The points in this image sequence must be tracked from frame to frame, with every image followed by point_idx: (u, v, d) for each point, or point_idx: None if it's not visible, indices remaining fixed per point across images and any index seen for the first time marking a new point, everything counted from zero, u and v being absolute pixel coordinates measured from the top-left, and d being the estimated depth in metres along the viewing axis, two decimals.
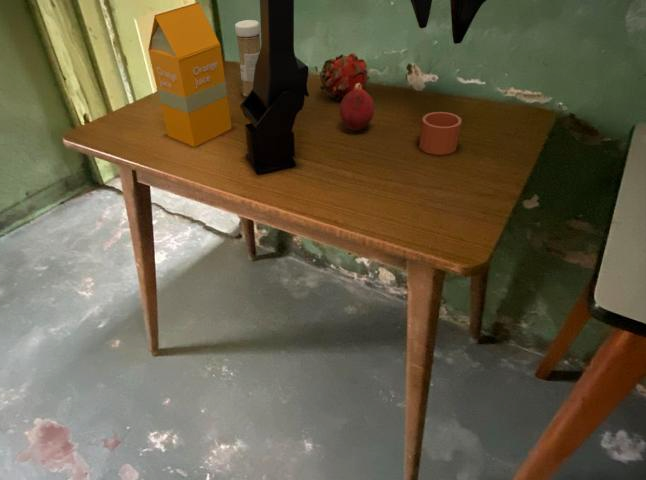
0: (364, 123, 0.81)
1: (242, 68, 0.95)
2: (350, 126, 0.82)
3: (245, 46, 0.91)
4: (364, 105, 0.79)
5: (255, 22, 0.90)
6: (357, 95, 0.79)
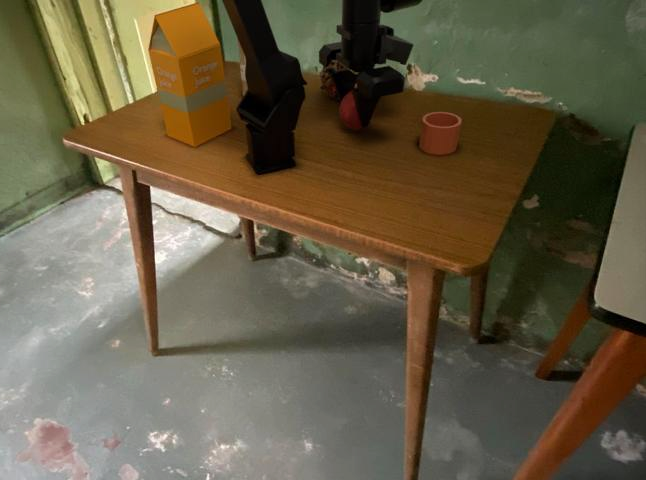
0: None
1: (242, 68, 0.95)
2: (350, 126, 0.82)
3: None
4: None
5: None
6: None
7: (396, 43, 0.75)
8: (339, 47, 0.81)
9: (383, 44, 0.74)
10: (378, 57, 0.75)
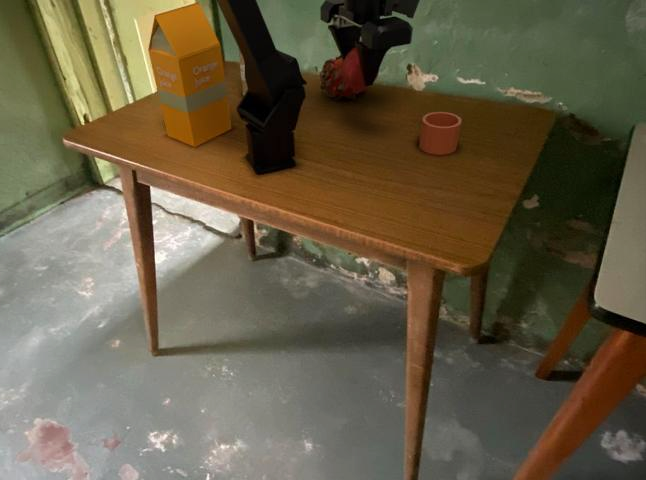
0: None
1: (242, 68, 0.95)
2: (353, 86, 0.78)
3: None
4: None
5: None
6: None
7: None
8: (342, 1, 0.76)
9: None
10: (384, 8, 0.70)
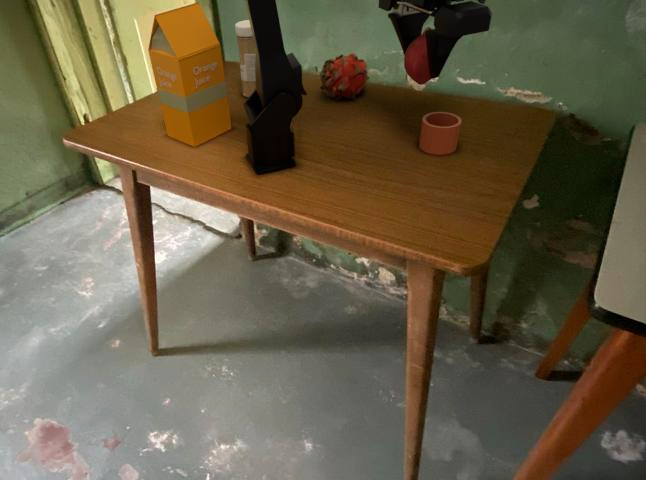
0: None
1: (242, 68, 0.95)
2: (417, 78, 0.72)
3: (245, 46, 0.91)
4: None
5: None
6: None
7: None
8: None
9: None
10: None
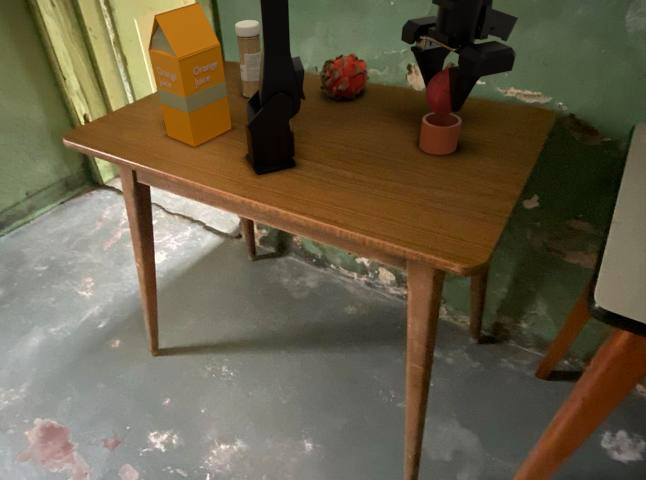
0: None
1: (242, 68, 0.95)
2: (438, 111, 0.73)
3: (245, 46, 0.91)
4: None
5: (255, 22, 0.90)
6: None
7: (501, 15, 0.65)
8: (427, 22, 0.72)
9: (487, 16, 0.64)
10: (480, 31, 0.66)
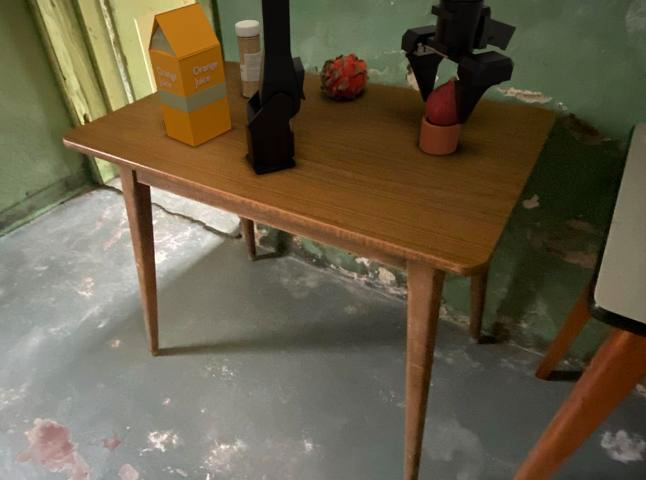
0: (453, 121, 0.73)
1: (242, 68, 0.95)
2: (436, 123, 0.74)
3: (245, 46, 0.91)
4: None
5: (255, 22, 0.90)
6: (452, 89, 0.71)
7: (499, 25, 0.66)
8: (427, 31, 0.72)
9: (486, 26, 0.65)
10: (479, 41, 0.66)
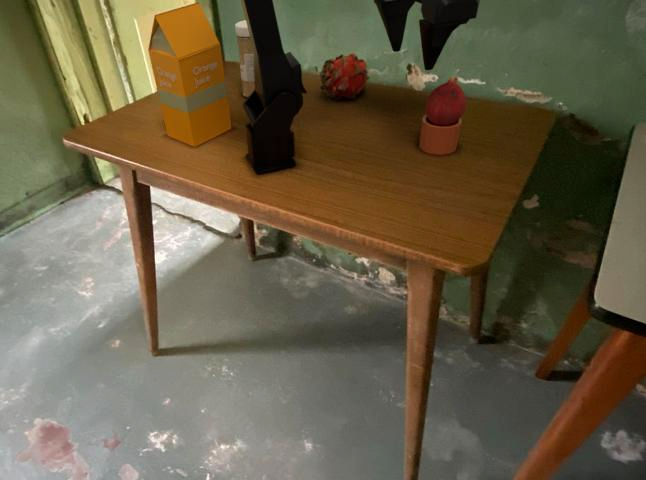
0: (453, 121, 0.73)
1: (242, 68, 0.95)
2: (436, 123, 0.74)
3: (245, 46, 0.91)
4: (458, 101, 0.72)
5: None
6: (452, 89, 0.71)
7: None
8: None
9: None
10: None
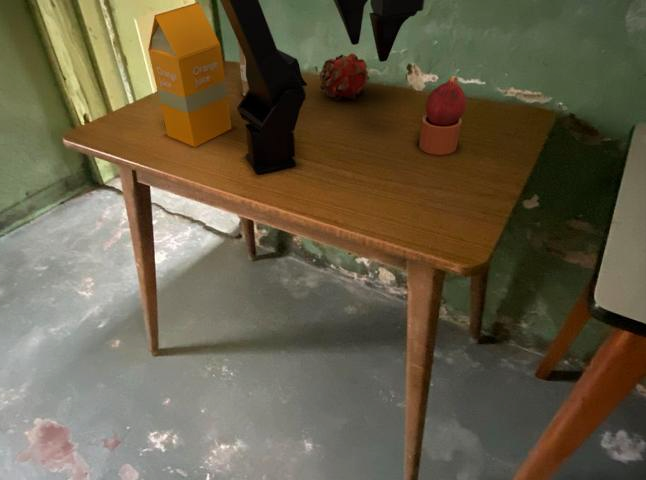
0: (453, 121, 0.73)
1: (242, 68, 0.95)
2: (436, 123, 0.74)
3: None
4: (458, 101, 0.72)
5: None
6: (452, 89, 0.71)
7: None
8: None
9: None
10: None
